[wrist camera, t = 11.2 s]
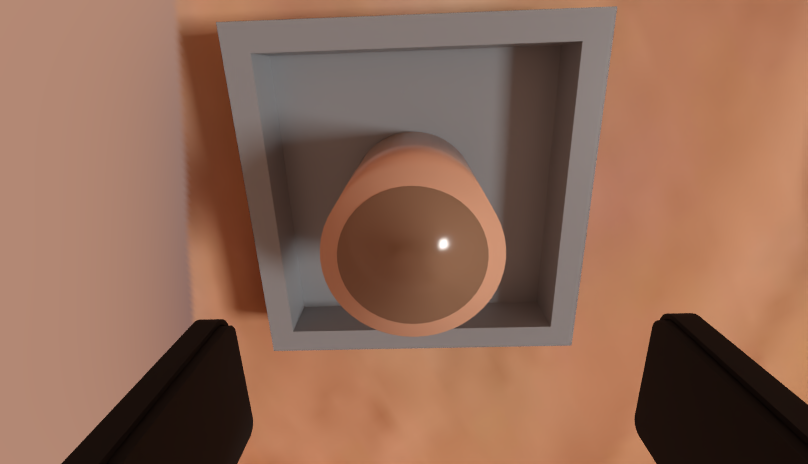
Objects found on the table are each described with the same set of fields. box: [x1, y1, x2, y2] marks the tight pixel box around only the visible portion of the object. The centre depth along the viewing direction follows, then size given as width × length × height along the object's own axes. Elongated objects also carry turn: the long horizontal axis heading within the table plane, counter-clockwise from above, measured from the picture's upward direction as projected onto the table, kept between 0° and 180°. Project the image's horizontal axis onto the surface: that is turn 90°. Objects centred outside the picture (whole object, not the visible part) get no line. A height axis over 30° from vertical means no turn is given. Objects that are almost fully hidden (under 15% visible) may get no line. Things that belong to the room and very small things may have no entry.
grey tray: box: [216, 7, 617, 351], centre depth 21 cm, size 16×16×4 cm
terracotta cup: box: [320, 132, 506, 337], centre depth 18 cm, size 6×6×8 cm
